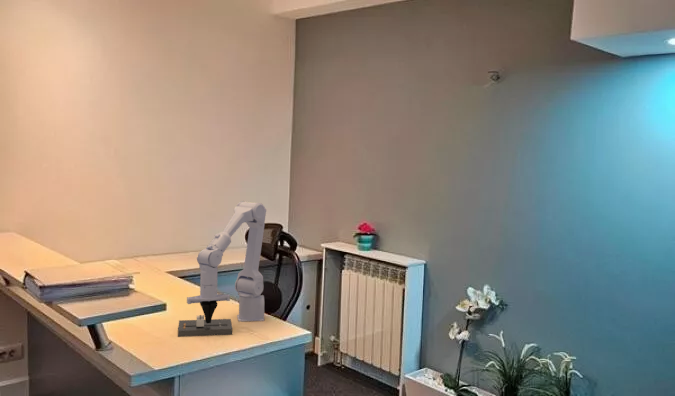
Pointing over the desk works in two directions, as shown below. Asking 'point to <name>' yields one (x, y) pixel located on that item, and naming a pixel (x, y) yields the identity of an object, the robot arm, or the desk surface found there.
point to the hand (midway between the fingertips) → (208, 322)
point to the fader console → (205, 328)
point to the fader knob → (200, 321)
